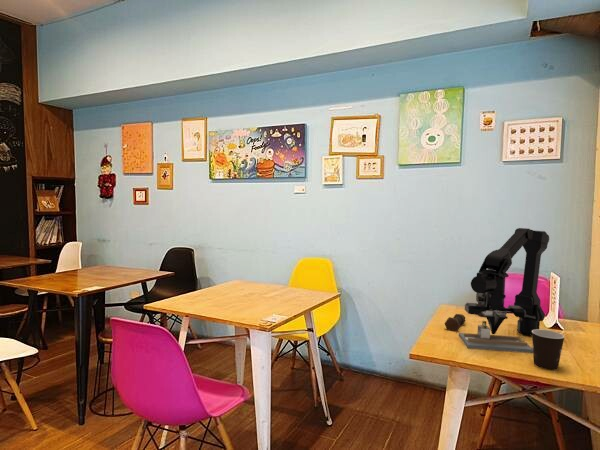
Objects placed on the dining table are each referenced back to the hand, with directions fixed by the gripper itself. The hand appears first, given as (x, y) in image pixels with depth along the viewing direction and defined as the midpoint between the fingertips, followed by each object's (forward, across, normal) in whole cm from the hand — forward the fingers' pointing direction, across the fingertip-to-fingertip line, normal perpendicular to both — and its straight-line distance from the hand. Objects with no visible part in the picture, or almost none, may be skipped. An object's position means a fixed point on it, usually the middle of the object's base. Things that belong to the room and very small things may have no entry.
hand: (493, 333), depth 143 cm
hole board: (+4, 0, 0) cm, 4 cm away
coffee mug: (+4, -12, +16) cm, 20 cm away
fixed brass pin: (+2, -10, 0) cm, 10 cm away
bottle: (+4, -9, -38) cm, 39 cm away
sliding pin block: (+2, +3, 0) cm, 4 cm away
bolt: (+4, +8, -19) cm, 21 cm away
